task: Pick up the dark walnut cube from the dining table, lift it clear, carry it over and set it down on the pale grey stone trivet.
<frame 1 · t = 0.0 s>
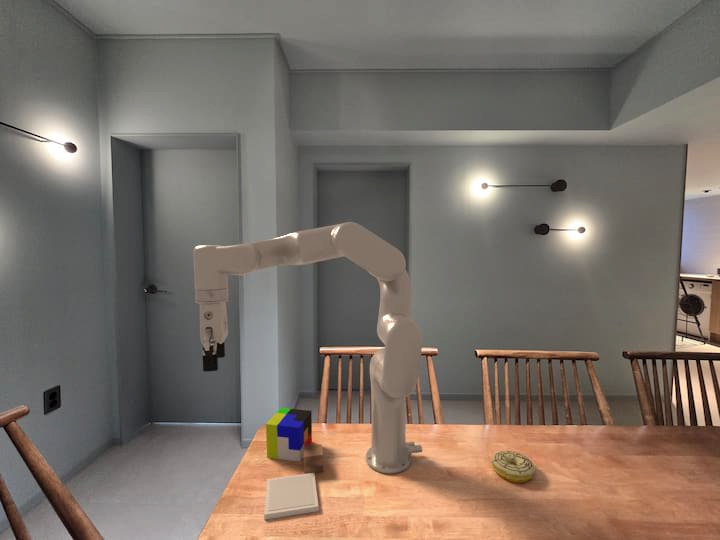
hand: (214, 363, 88), 31 cm above the table, fingers open, 9 cm apart
puzzle toy: (290, 450, 106), on the table
decorated donut: (512, 473, 95), on the table
walnut cube: (313, 467, 97), on the table
trivet: (291, 496, 86), on the table
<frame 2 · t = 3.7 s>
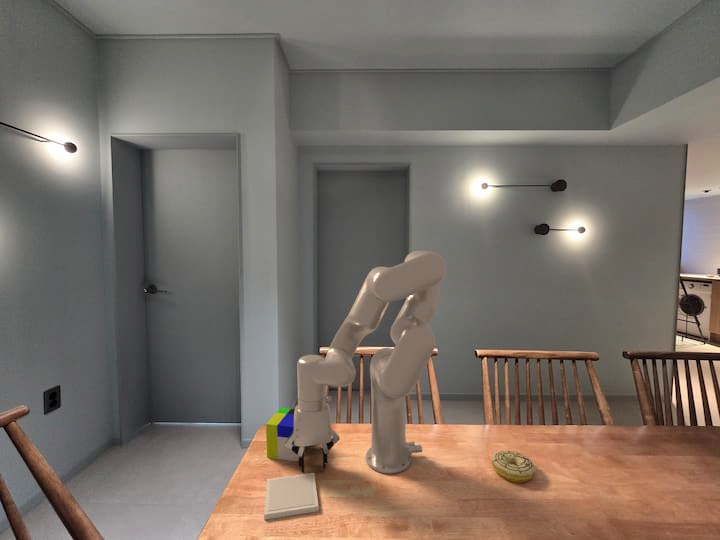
hand: (313, 465, 97), 0 cm above the table, fingers closed on walnut cube, 5 cm apart
walnut cube: (313, 467, 97), on the table, touching gripper
everything else where it was.
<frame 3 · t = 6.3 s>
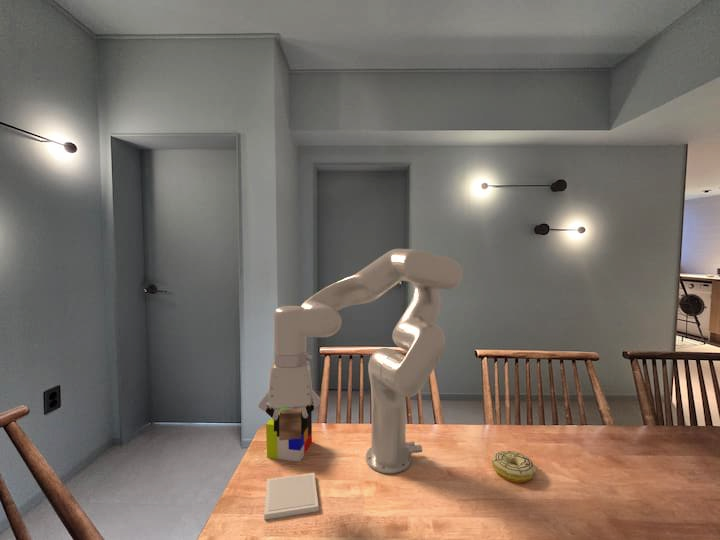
hand: (290, 431, 85), 16 cm above the table, fingers closed on walnut cube, 5 cm apart
walnut cube: (290, 433, 86), point 15 cm above the table, touching gripper
everything else where it was.
when the fingers open (3 cm above the table, at t = 9.1 s): walnut cube drops 2 cm, resting on trivet.
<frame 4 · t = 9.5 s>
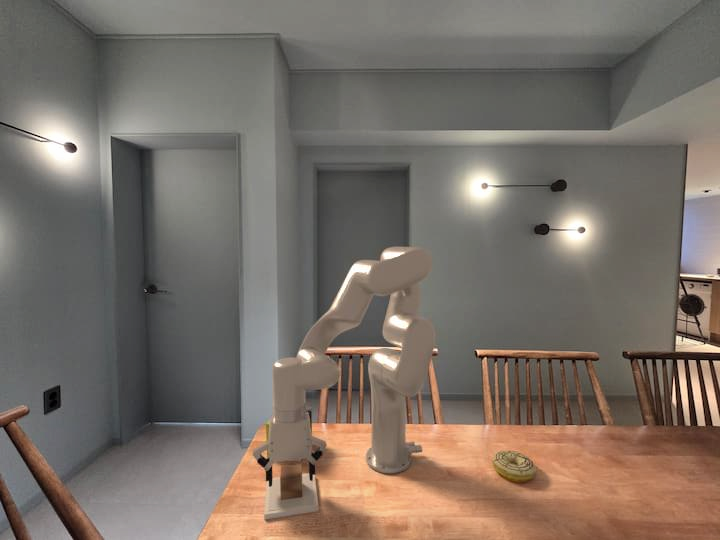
hand: (291, 479, 86), 4 cm above the table, fingers open, 9 cm apart
walnut cube: (291, 491, 86), point 1 cm above the table, touching trivet
everything else where it was.
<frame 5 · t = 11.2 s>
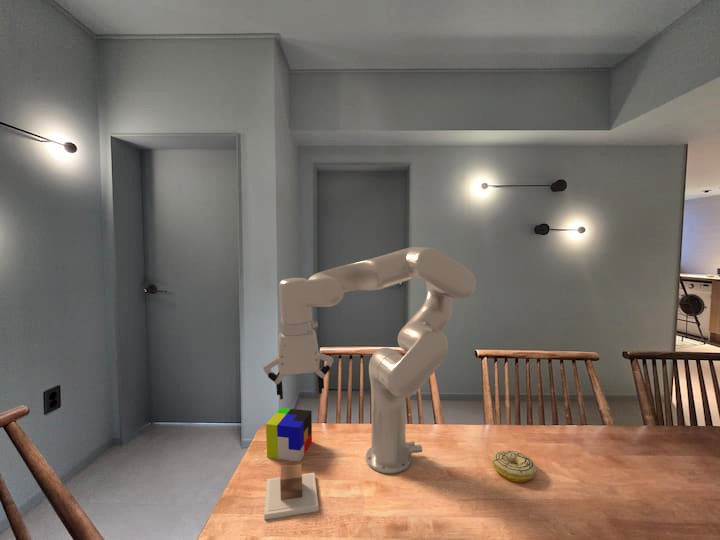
hand: (300, 394, 90), 23 cm above the table, fingers open, 9 cm apart
nothing on the table moved.
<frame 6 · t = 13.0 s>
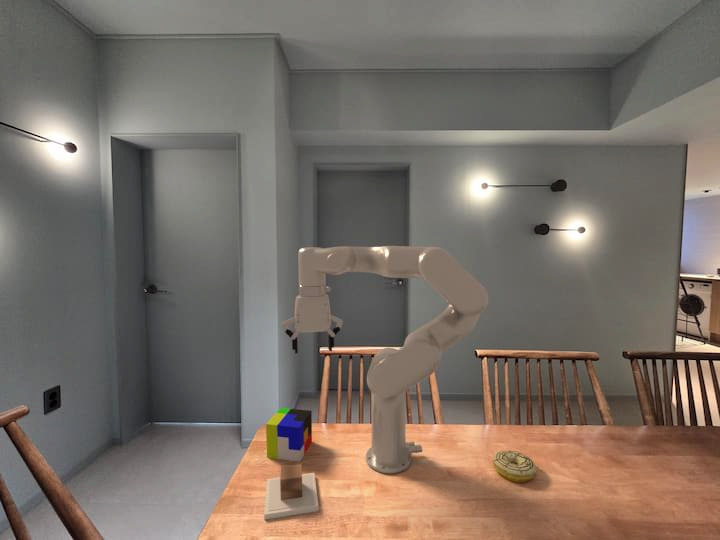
hand: (313, 350, 101), 30 cm above the table, fingers open, 9 cm apart
nothing on the table moved.
at the end: walnut cube inside the target area on the trivet (0.1 cm from its centre), point 1.3 cm above the trivet's base; walnut cube tilted 0°; the gripper is holding nothing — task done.
